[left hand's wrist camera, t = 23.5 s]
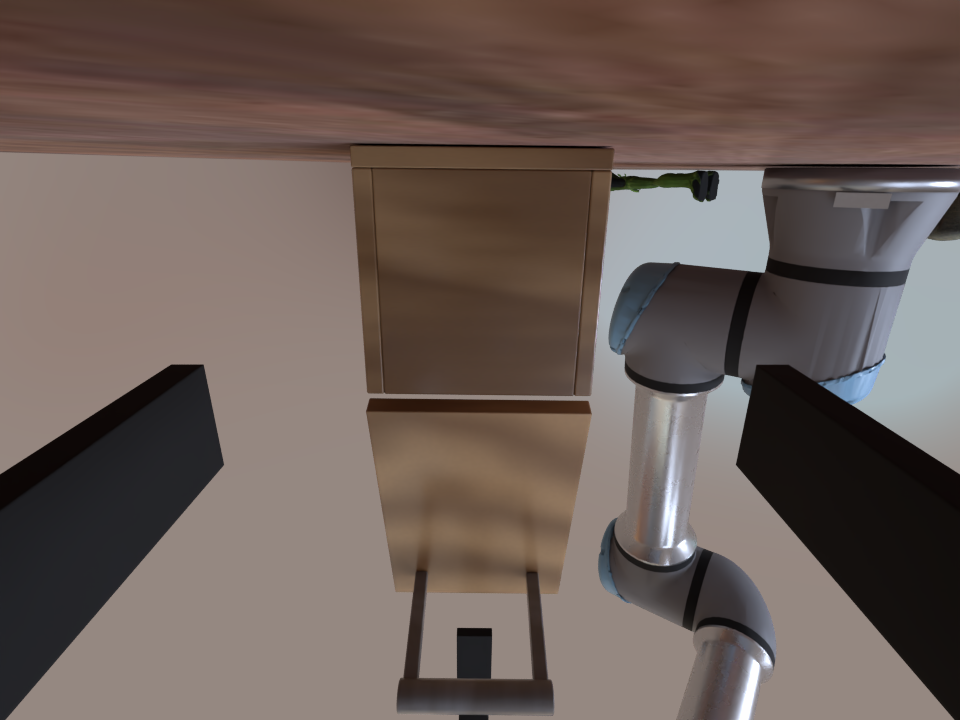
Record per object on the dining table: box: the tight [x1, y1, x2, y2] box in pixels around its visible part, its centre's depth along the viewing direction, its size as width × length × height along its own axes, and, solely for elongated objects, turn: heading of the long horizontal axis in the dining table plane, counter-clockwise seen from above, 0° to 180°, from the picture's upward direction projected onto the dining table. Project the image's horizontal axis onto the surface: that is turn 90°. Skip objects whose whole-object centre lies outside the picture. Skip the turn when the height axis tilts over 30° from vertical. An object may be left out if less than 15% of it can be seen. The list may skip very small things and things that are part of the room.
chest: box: [350, 145, 614, 396], centre depth 27 cm, size 14×10×10 cm
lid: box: [366, 398, 592, 716], centre depth 24 cm, size 15×10×8 cm
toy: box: [610, 171, 719, 202], centre depth 99 cm, size 32×5×30 cm
